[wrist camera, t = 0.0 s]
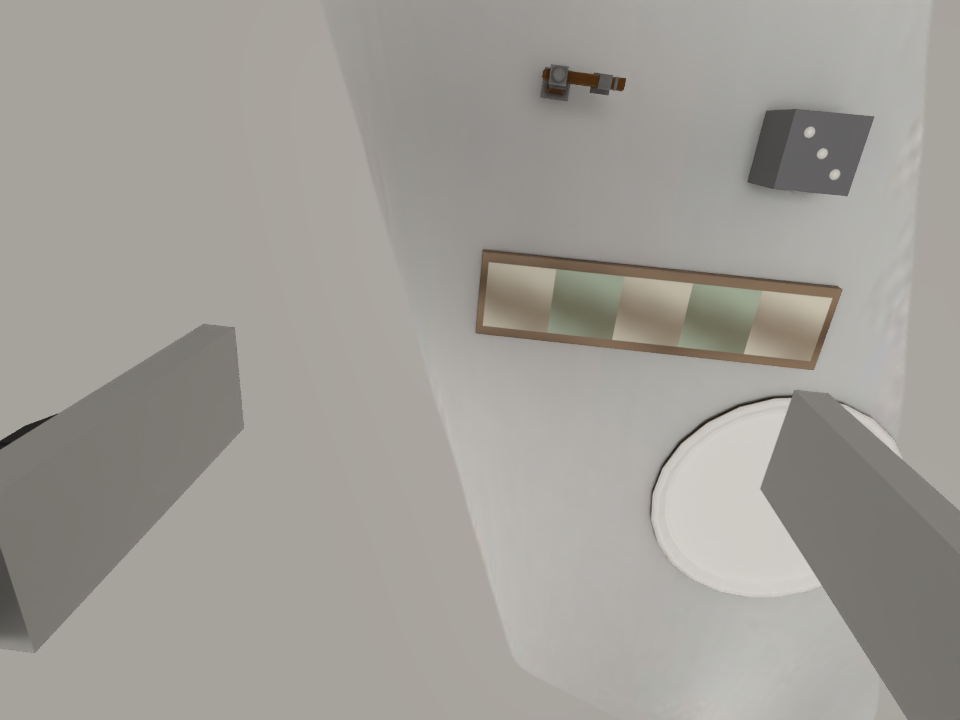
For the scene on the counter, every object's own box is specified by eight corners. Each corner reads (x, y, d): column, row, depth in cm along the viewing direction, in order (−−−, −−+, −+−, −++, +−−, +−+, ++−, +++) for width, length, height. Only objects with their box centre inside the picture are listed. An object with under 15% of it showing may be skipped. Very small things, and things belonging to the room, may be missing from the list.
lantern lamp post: (537, 96, 37) (540, 90, 30) (542, 66, 37) (546, 52, 29) (604, 106, 37) (623, 102, 30) (610, 76, 37) (631, 64, 29)
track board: (483, 249, 42) (482, 252, 41) (836, 286, 41) (843, 289, 40) (476, 329, 44) (475, 333, 43) (808, 366, 43) (814, 370, 42)
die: (765, 110, 37) (797, 109, 32) (835, 117, 37) (875, 116, 32) (746, 184, 39) (773, 192, 34) (812, 191, 38) (847, 199, 34)
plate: (630, 577, 53) (632, 587, 52) (673, 380, 45) (677, 387, 44) (854, 600, 52) (861, 610, 51) (939, 403, 44) (950, 410, 43)
